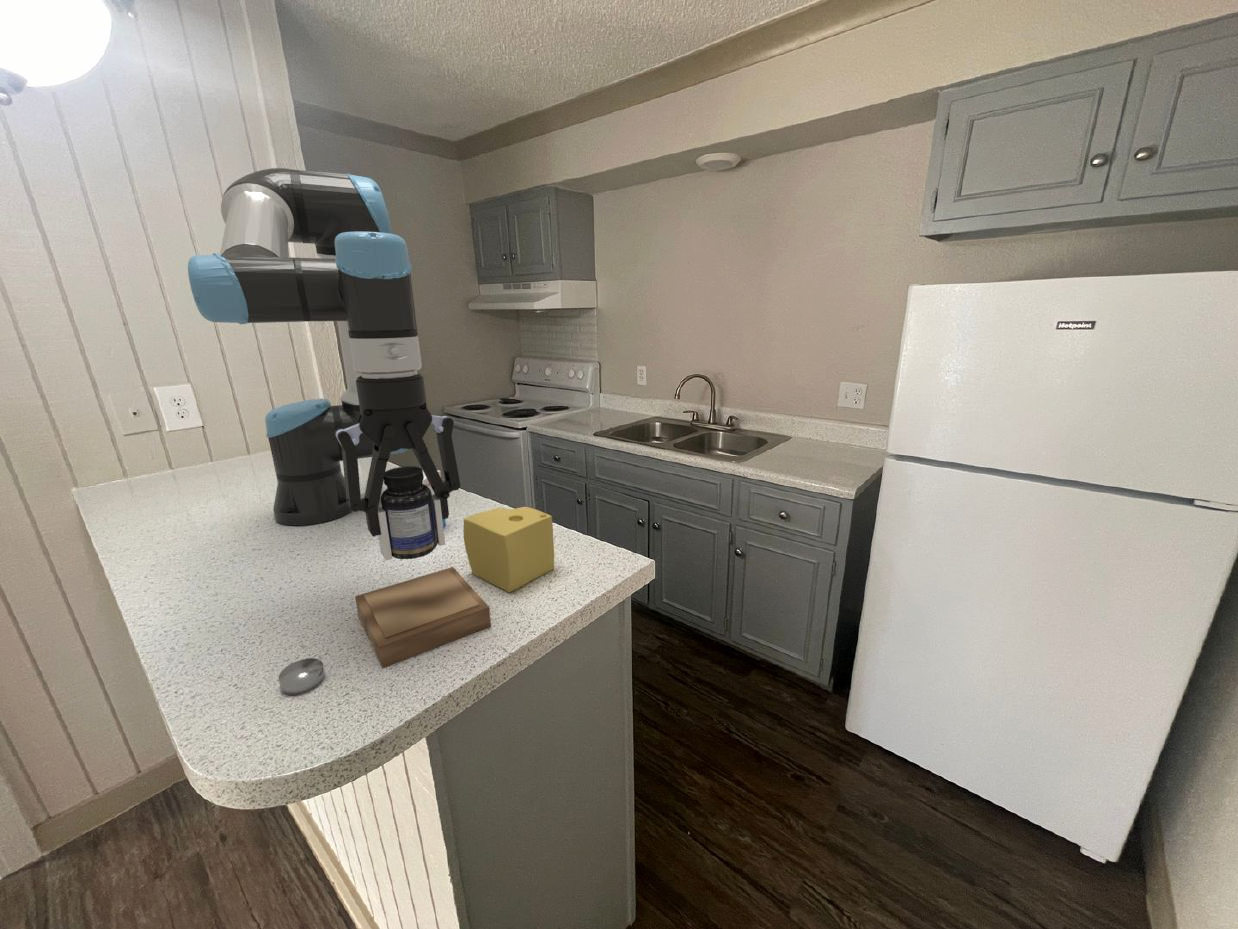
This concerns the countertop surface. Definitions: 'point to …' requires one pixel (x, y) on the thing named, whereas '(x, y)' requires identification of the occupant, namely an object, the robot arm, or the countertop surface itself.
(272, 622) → the countertop surface
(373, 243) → the robot arm
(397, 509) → the pill bottle
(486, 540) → the cheese
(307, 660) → the grey metal puck
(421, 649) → the walnut stand
